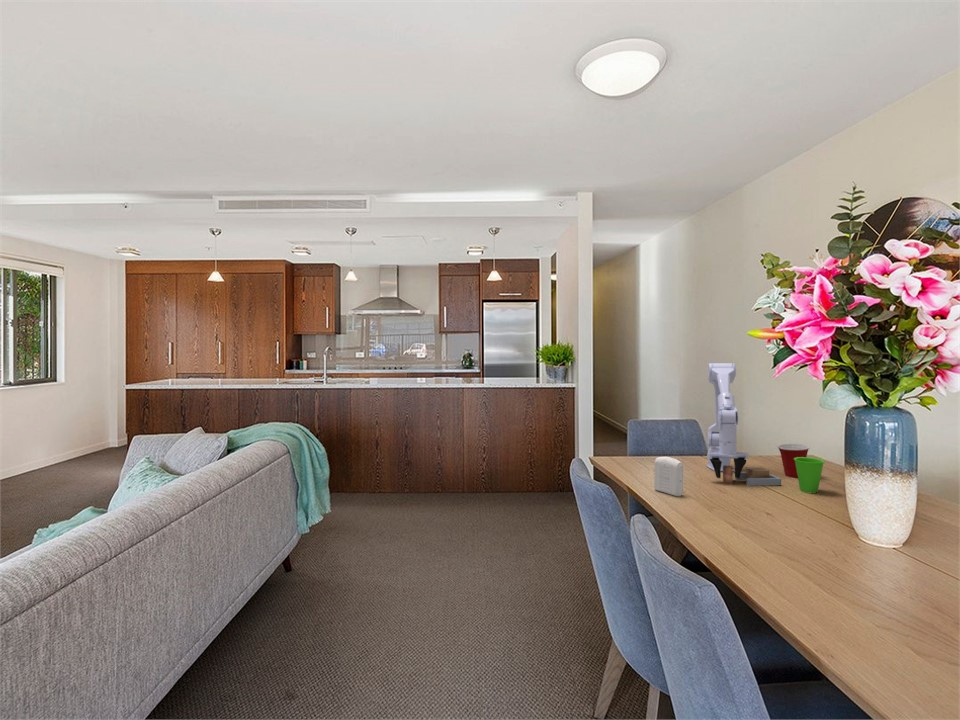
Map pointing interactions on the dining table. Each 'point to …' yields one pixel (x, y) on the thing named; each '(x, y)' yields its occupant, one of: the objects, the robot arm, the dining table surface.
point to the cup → (809, 473)
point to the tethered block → (750, 473)
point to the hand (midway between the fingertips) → (727, 477)
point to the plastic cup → (792, 457)
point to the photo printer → (669, 476)
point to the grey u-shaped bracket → (761, 480)
